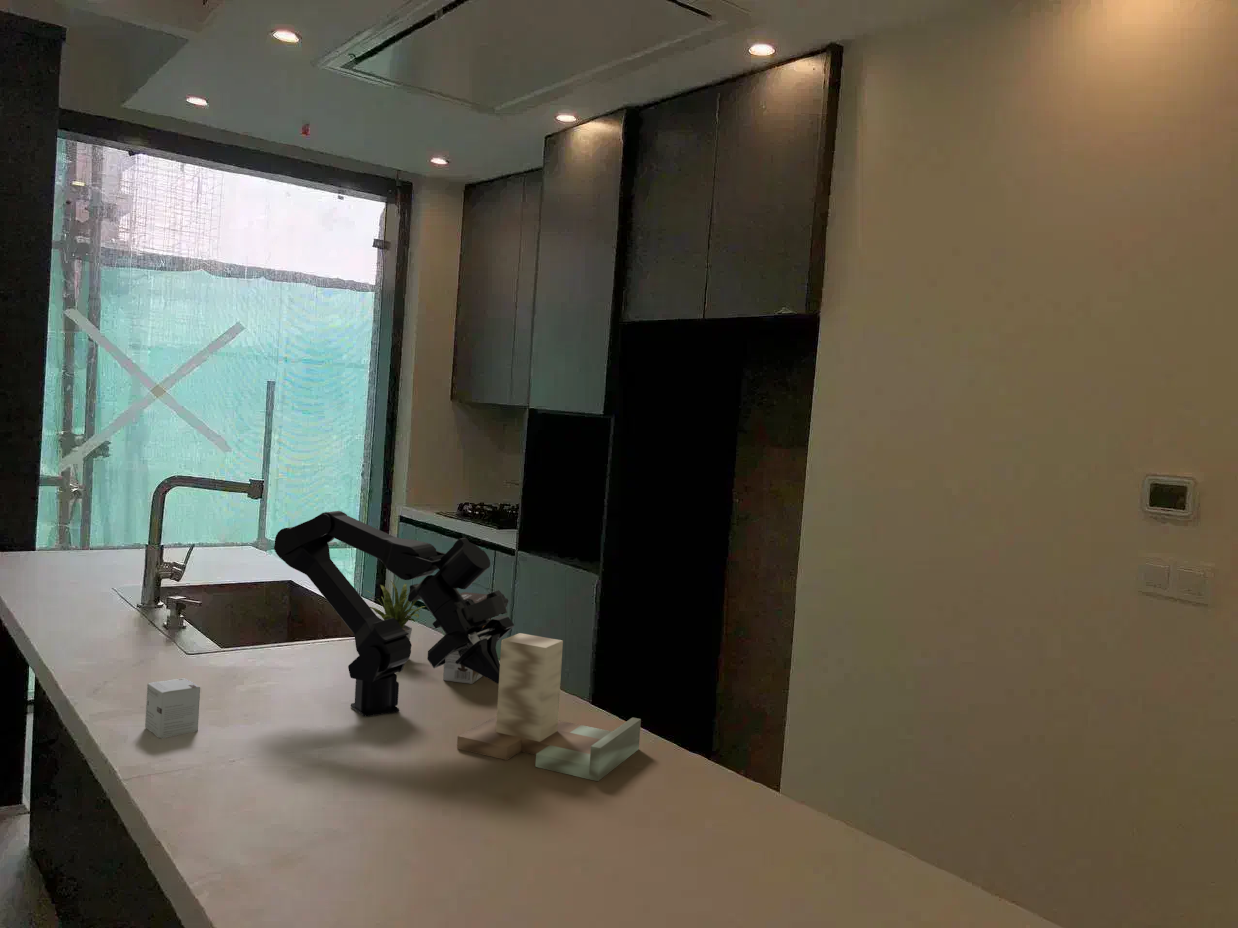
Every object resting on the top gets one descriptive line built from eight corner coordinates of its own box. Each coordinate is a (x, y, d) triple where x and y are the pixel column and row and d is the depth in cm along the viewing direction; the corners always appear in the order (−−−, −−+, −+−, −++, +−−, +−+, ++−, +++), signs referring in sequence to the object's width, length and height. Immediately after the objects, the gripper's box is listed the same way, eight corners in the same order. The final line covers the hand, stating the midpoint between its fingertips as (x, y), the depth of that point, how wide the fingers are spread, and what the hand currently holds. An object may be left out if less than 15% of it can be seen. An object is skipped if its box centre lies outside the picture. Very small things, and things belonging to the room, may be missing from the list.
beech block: (495, 731, 157) (501, 639, 156) (514, 721, 162) (519, 632, 162) (539, 741, 154) (545, 647, 153) (557, 731, 159) (563, 640, 158)
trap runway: (457, 748, 154) (458, 717, 154) (507, 721, 169) (509, 692, 168) (597, 781, 144) (600, 748, 144) (638, 749, 159) (640, 719, 159)
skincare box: (144, 728, 154) (146, 682, 153) (183, 721, 158) (184, 676, 158) (159, 739, 150) (161, 692, 149) (199, 731, 154) (201, 685, 154)
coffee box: (458, 668, 199) (463, 590, 198) (488, 672, 198) (493, 594, 197) (441, 680, 190) (446, 599, 189) (473, 684, 189) (477, 602, 188)
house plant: (446, 654, 209) (450, 579, 208) (412, 670, 196) (416, 589, 195) (388, 645, 214) (392, 571, 213) (351, 659, 201) (355, 581, 200)
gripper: (447, 584, 152) (505, 665, 149) (507, 569, 169) (560, 641, 166) (402, 627, 156) (458, 707, 152) (466, 608, 173) (517, 679, 169)
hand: (501, 681), depth 160 cm, fingers closed
